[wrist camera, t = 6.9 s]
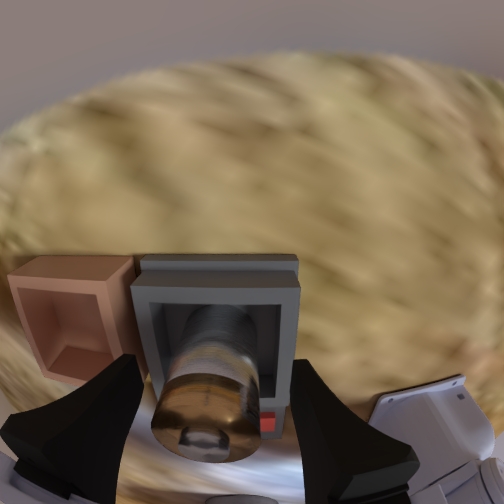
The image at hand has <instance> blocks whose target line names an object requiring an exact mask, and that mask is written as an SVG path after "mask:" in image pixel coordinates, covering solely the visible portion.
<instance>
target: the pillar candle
mask: <svg viewBox="0 0 504 504" xmlns="http://www.w3.org/2000/svg"><path fill="white" fill-rule="evenodd" d="M205 504H278V502H277V501H275V500H273V499H271V498H267V497H261V496H256V495H253V496H252V495H235V496H219V497H213V498H211V499H209V500H207V501H206V503H205Z"/></svg>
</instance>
